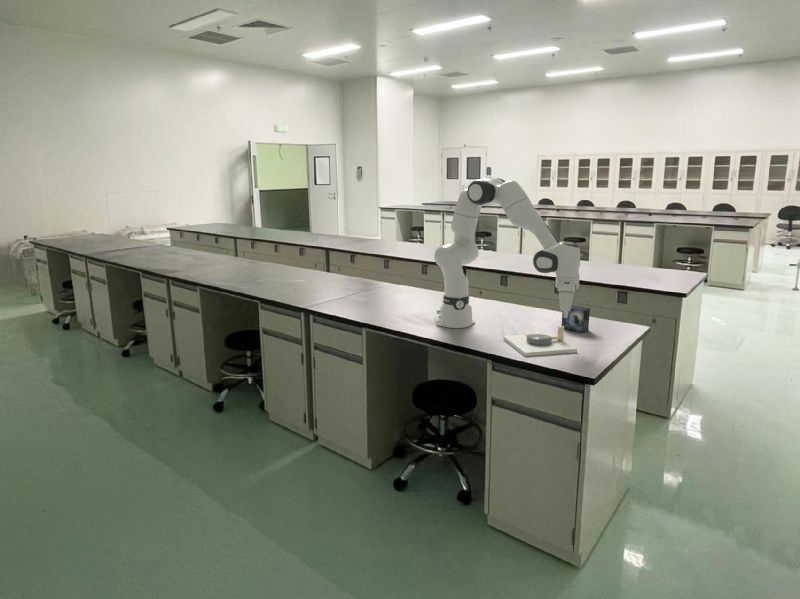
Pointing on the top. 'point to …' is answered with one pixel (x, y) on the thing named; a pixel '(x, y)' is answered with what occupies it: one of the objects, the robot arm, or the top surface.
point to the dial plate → (539, 346)
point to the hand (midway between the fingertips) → (565, 317)
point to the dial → (545, 337)
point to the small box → (577, 319)
